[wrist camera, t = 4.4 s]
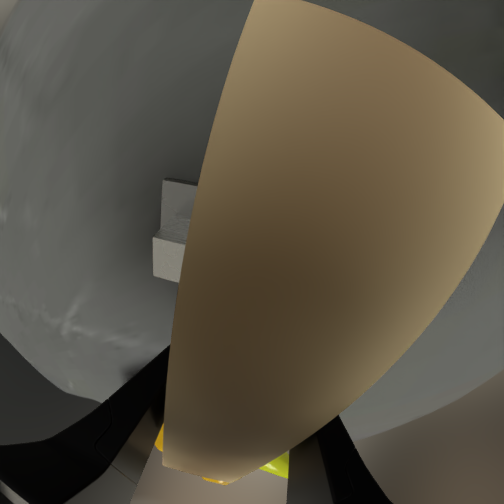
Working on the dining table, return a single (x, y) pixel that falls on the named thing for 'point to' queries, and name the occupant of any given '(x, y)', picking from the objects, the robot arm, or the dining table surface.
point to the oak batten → (319, 232)
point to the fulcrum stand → (173, 228)
